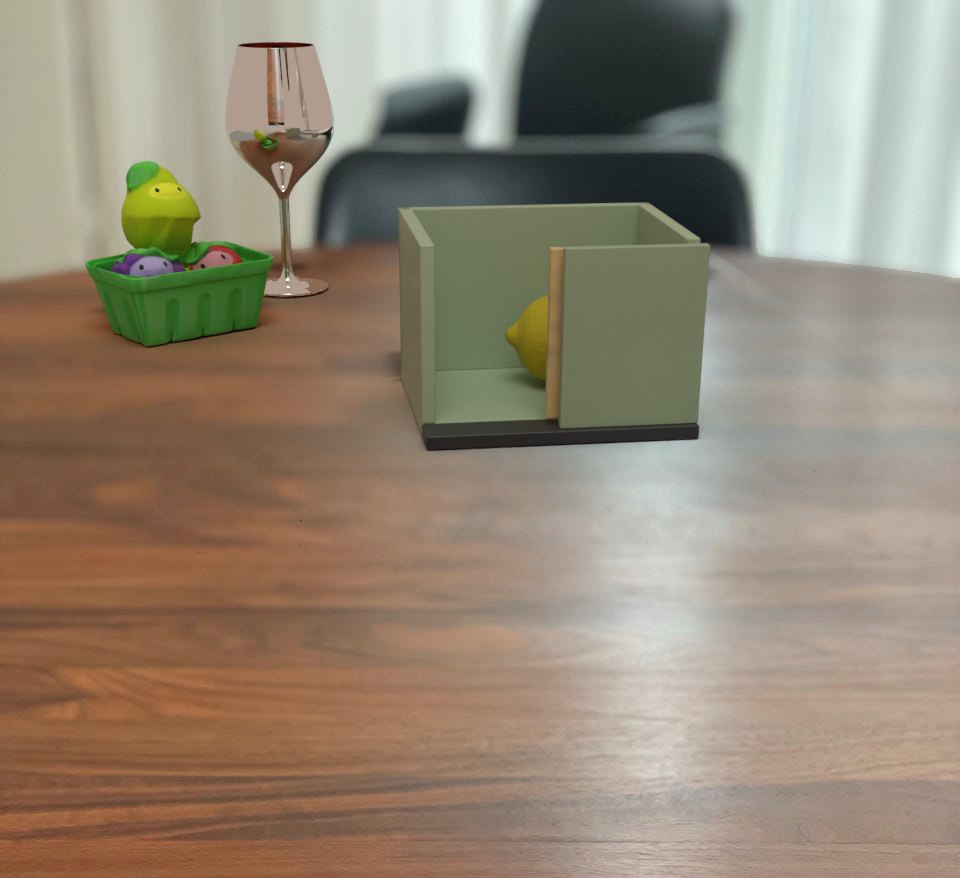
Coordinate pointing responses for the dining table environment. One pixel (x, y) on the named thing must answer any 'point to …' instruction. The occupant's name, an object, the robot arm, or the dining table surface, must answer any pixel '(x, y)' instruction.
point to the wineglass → (279, 126)
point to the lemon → (531, 337)
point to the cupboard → (584, 323)
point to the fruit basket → (175, 269)
